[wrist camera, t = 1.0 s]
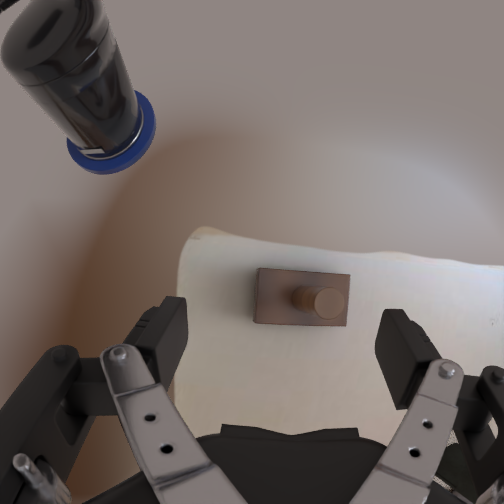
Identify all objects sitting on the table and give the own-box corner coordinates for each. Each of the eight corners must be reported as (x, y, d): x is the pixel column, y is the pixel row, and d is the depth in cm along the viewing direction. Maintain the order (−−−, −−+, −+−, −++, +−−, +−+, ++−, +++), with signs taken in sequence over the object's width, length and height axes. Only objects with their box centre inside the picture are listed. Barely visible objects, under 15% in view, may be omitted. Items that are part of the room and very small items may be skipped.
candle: (455, 463, 35) (554, 522, 10) (432, 476, 34) (530, 547, 10) (458, 440, 36) (568, 497, 11) (434, 453, 35) (544, 523, 10)
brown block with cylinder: (251, 319, 33) (266, 335, 24) (254, 268, 34) (272, 264, 24) (336, 322, 35) (378, 337, 25) (339, 275, 35) (383, 272, 25)
